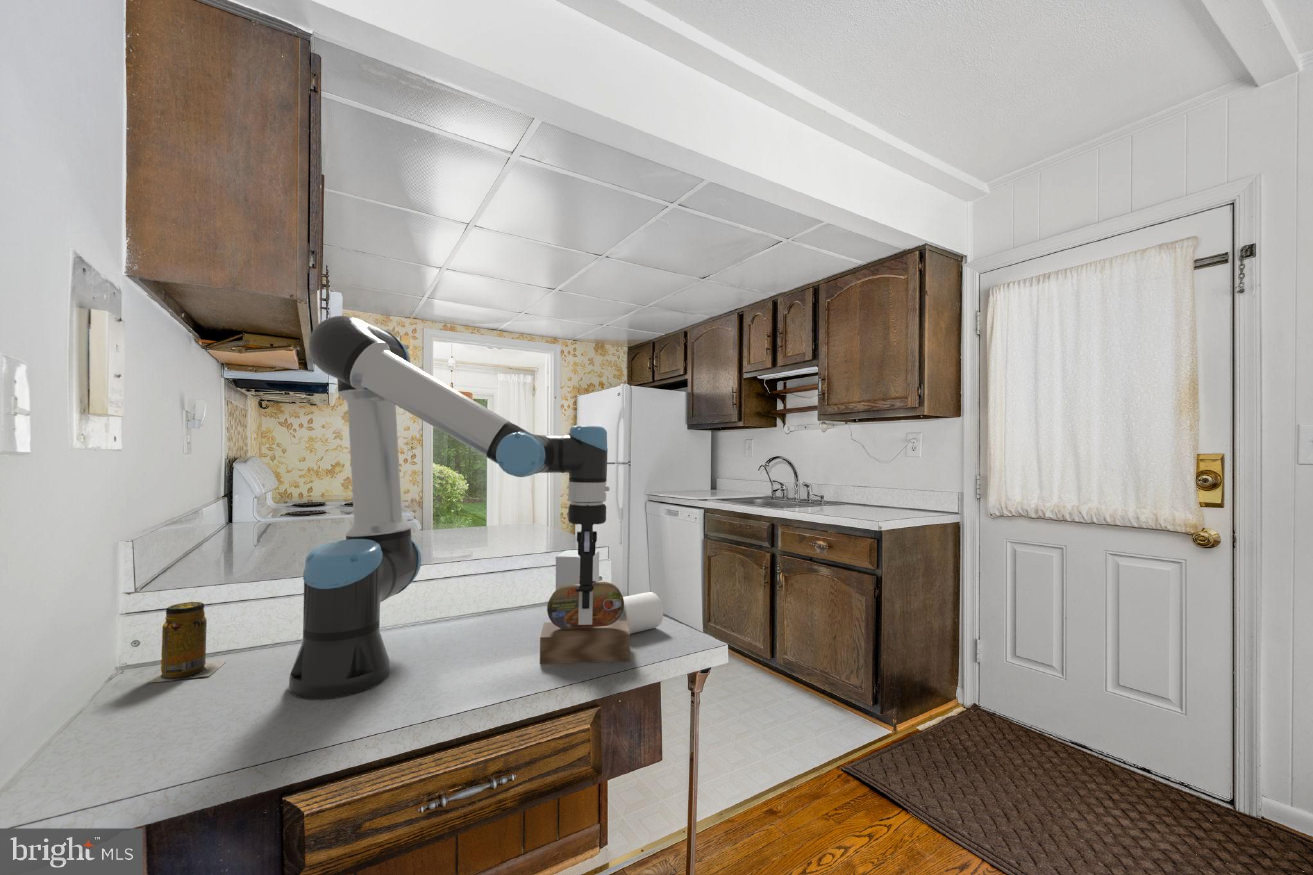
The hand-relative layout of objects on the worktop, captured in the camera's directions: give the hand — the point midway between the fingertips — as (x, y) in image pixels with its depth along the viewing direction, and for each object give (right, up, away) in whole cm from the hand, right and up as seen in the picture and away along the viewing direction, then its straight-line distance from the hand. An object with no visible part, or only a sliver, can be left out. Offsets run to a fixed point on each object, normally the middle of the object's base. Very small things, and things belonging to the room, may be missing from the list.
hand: (585, 621), depth 111 cm
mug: (+8, -7, +16) cm, 19 cm away
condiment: (-69, -6, -12) cm, 70 cm away
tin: (0, -1, 0) cm, 1 cm away
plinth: (0, -6, 0) cm, 6 cm away
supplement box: (-5, -7, +26) cm, 28 cm away
